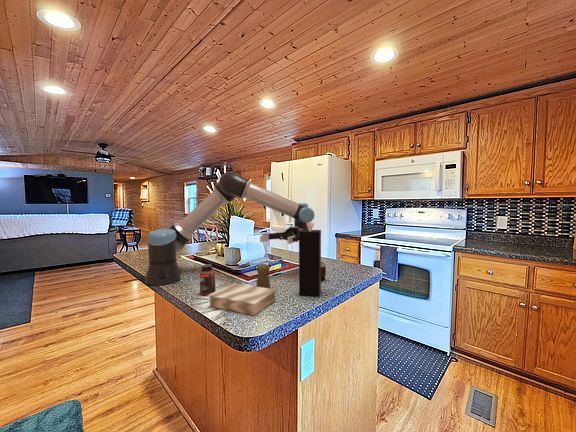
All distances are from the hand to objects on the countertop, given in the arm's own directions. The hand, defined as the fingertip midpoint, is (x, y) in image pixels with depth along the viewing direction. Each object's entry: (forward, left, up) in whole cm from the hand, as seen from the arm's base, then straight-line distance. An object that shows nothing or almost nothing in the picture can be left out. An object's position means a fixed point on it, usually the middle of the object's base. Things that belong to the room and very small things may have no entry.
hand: (274, 239), depth 114 cm
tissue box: (+18, -4, -20) cm, 27 cm away
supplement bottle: (-19, -21, -20) cm, 34 cm away
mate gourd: (+15, +14, -20) cm, 29 cm away
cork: (0, -10, -20) cm, 22 cm away
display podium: (0, -24, -20) cm, 31 cm away
